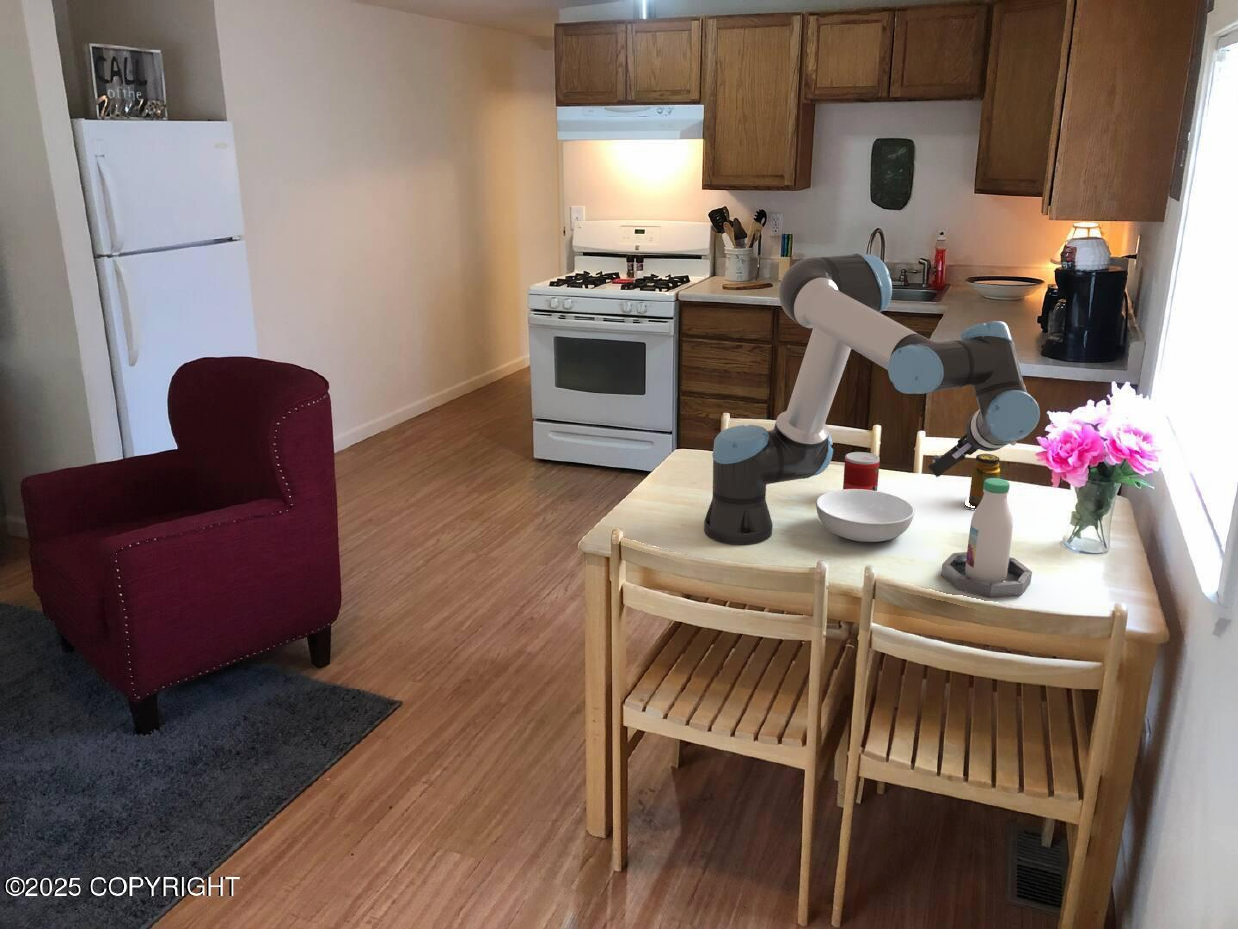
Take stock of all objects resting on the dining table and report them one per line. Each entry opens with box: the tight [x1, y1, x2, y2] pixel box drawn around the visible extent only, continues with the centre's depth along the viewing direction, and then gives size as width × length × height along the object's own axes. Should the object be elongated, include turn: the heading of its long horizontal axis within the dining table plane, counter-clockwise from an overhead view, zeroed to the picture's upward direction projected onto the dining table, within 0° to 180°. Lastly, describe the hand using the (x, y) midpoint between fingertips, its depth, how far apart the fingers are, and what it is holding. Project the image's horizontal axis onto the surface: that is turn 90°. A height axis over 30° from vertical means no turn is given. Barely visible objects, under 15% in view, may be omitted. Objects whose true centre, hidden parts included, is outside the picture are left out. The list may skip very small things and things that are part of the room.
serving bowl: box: [815, 489, 915, 543], centre depth 210 cm, size 21×21×7 cm
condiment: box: [963, 453, 1001, 510], centre depth 225 cm, size 7×8×12 cm
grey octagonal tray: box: [940, 551, 1033, 599], centre depth 189 cm, size 15×15×2 cm
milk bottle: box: [965, 478, 1014, 583], centre depth 186 cm, size 8×8×20 cm
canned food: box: [842, 451, 880, 491], centre depth 229 cm, size 8×8×11 cm
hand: (966, 442), depth 184 cm, fingers open, 13 cm apart
